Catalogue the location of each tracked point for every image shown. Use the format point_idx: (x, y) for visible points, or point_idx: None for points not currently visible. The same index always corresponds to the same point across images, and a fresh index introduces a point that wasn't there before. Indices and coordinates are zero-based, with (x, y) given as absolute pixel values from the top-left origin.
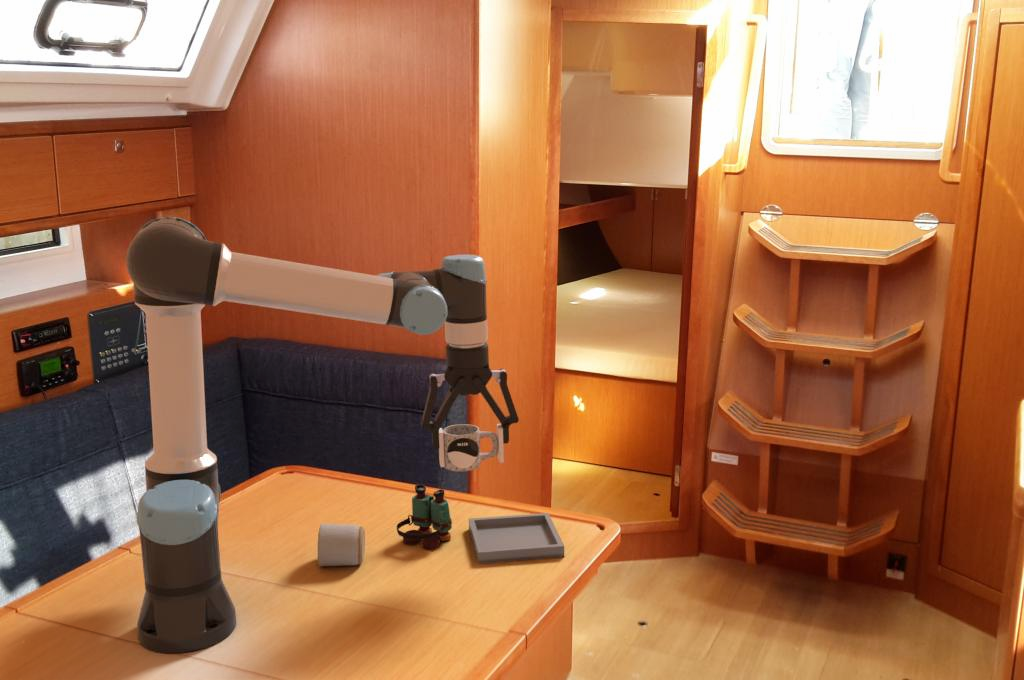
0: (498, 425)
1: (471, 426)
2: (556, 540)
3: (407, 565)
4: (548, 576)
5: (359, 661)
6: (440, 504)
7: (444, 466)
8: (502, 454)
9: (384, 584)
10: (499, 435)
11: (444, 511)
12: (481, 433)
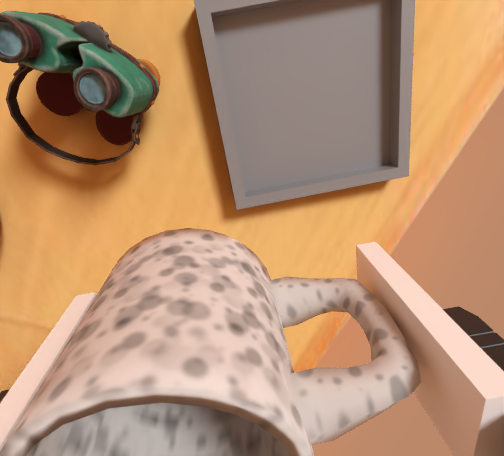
0: (488, 428)
1: (244, 413)
2: (399, 149)
3: (97, 211)
4: (355, 244)
5: None
6: (115, 114)
7: None
8: None
9: (80, 282)
10: (437, 421)
11: (133, 112)
12: (322, 441)
